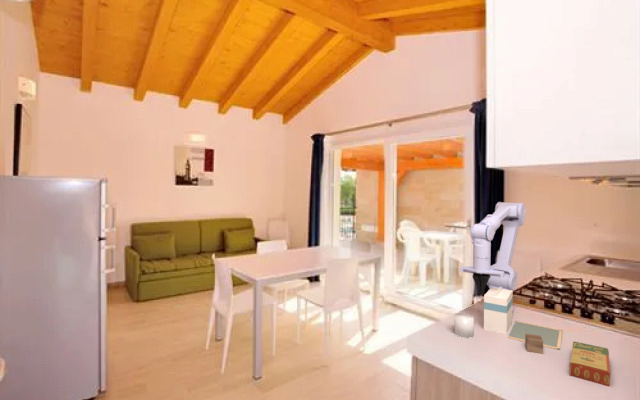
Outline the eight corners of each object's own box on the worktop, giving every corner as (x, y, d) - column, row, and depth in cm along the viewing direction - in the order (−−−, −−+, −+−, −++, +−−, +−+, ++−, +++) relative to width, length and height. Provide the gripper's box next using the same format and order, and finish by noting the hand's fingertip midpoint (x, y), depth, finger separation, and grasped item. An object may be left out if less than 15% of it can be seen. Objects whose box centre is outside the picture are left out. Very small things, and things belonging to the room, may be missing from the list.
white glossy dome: (457, 328, 119) (457, 312, 119) (475, 333, 116) (475, 315, 115) (451, 334, 114) (452, 317, 114) (471, 339, 111) (471, 321, 111)
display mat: (515, 321, 125) (515, 320, 125) (562, 330, 117) (562, 330, 117) (507, 337, 112) (507, 337, 112) (559, 350, 103) (559, 349, 103)
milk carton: (490, 318, 128) (491, 283, 128) (512, 323, 124) (512, 287, 123) (483, 329, 119) (484, 292, 118) (506, 334, 114) (507, 295, 114)
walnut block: (525, 346, 106) (525, 333, 106) (540, 348, 105) (540, 335, 105) (527, 351, 103) (527, 338, 102) (543, 354, 101) (543, 341, 101)
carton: (568, 377, 90) (569, 360, 89) (572, 353, 102) (572, 339, 102) (610, 388, 84) (610, 371, 84) (608, 362, 97) (608, 347, 97)
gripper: (457, 256, 125) (457, 293, 126) (502, 261, 116) (501, 301, 117) (463, 253, 131) (462, 288, 131) (505, 258, 122) (505, 295, 122)
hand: (481, 294), depth 124 cm, fingers closed
